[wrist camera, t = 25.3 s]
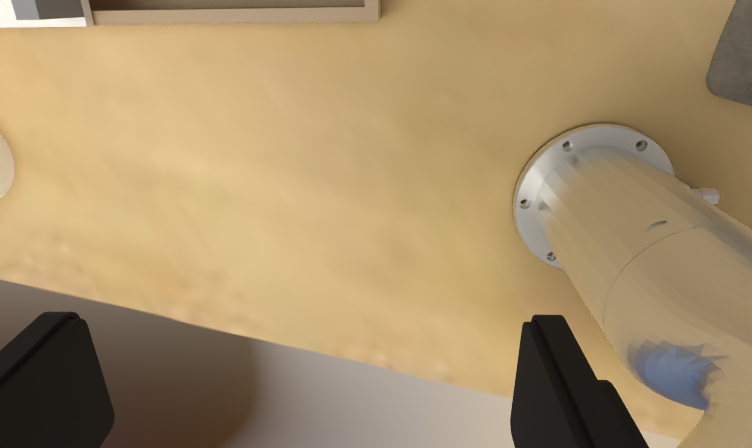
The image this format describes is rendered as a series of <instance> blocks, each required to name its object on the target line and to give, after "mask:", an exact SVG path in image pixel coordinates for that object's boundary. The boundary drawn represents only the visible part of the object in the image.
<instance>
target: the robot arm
mask: <svg viewBox="0 0 752 448" xmlns="http://www.w3.org/2000/svg"><path fill="white" fill-rule="evenodd" d="M566 141H568V144H567V145H566V146H563V144H564V143H565V142H566ZM638 142H639V144H638V145H636V144H637V143H638ZM719 197H720V195H719V191H718V190H717V189H716V188H696V189H690V187H689V186H688V185H686V184H685V183H683V182H681V181H680V180H678V179H677V178H675V173H674V170H673V167H672V164H671V162H670V159H669V158H668V156H667V155H666V153H665V152H664V150H663V149H662V148H661V147H660V146H659V145H658V144H657V143H656V142H655V141H654V140H652V139H651V138H650V137H648V136H646V135H645V134H643V133H641V132H639V131H637V130H634V129H632V128H629V127H627V126H622V125H617V124H592V125H586V126H581V127H578V128H575V129H573V130H570V131H567V132H565V133H563V134H561V135H559V136H558V137H556V138H554V139H552V140H551V141H549V142H548V143H547V144H546V145H545V146H543V147H542V148H541V149H540V150H538V151H537V153H536V154H535V155H534V156H533V157H532V158H531V159H530V161H529V162H528V163H527V165H526V166H525V168H524V170H523V171H522V173H521V175H520V177H519V179H518V182H517V185H516V187H515V191H514V197H513V203H512V204H513V218H514V222H515V225H516V229H517V231H518V233H519V235H520V237H521V239H522V240H523V242H524V243H525V245H526V246H527V248H528V249H529V250H530V251H531V252H532V253H533V254H534V255H535V256H536V257H537V258H539V259H540V260H542V261H543V262H545V263H547V264H549V265H551V266H554V267H557V268H559V269H563V270H564V271H565V273H566V274H567V276H568V278H569V279H570V281H571V282H572V284H573V286H574V287H575V289H576V290H577V292H578V294H579V295H580V297H581V298H582V300H583V302H584V303H585V305H586V306H587V308H588V309H589V311H590V313H591V314H592V316H593V317H594V319H595V321H596V322H597V324H598V325H599V327H600V329H601V330H602V332H603V333H604V335H605V337H606V338H607V340H608V341H609V343H610V344H611V346H612V348H613V349H614V351H615V352H616V354H617V355H618V357H619V358H620V360H621V361H622V363H623V364H624V365H625V367H626V368H627V369H628V370H629V371H630V373H631V374H632V375H633V376H634V377H635V378H636V379H637V380H639V381H640V382H641V383H642V384H643V385H645V386H646V387H648V388H649V389H651V390H652V391H654V392H655V393H657V394H659V395H661V396H663V397H665V398H667V399H669V400H672V401H675V402H677V403H680V404H683V405H685V406H688V407H692V408H696V409H700V410H704V411H705V413H704V414H703V416H702V418H701V420H700V421H699V422H698V424H697V425H696V426H695V427H694V428H693V430H692V431H691V432H690V433H689V434H688V435H687V436H686V437H685V438H684V439H683V441H682V442H681V443H680V444H679V445H678V446H677V448H752V230H751V229H750V228H748V227H747V226H745V225H744V224H742V223H740V222H739V221H737V220H736V219H734V218H733V217H731V216H730V215H728V214H726V213H725V212H723V211H722V210H720V209H719V208H717V207H716V206H715V205H717V203H718V202H719ZM523 199H526V200H525V201H524V202H521V201H522V200H523ZM550 252H551V253H550ZM548 253H549V254H548ZM113 423H114V410H113V407H112V404H111V400H110V397H109V394H108V391H107V387H106V384H105V381H104V377H103V374H102V371H101V367H100V364H99V361H98V358H97V354H96V351H95V348H94V345H93V341H92V338H91V335H90V332H89V328H88V325H87V323H86V321H85V320H84V319H80V317H79V315H78V314H77V313H74V312H45V313H43V314H41V315H40V316H38V317H37V318H36V319H35V320H34V321H33V322H32V323H31V324H30V325H28V326H27V327H26V328H25V329H24V330H23V331H22V332H21V333H20V334H18V335H17V336H16V337H15V338H14V339H13V340H12V341H11V342H9V343H8V344H7V345H6V346H5V347H4V348H3V349H2V350H1V351H0V448H99V447H100V446H101V444H102V443H103V441H104V440H105V438H106V437H107V435H108V434H109V432H110V431H111V429H112V426H113ZM510 423H511V424H510V425H511V434H512V438H513V441H514V445H515V448H649V447H648V445H647V443H646V441H645V440H644V438H643V436H642V434H641V433H640V431H639V429H638V427H637V426H636V424H635V422H634V420H633V419H632V417H631V415H630V413H629V412H628V410H627V408H626V406H625V405H624V403H623V401H622V399H621V398H620V396H619V394H618V392H617V391H616V389H615V387H614V386H613V385H612V383H611V382H609V381H607V380H597V378H596V376H595V374H594V372H593V370H592V368H591V367H590V365H589V363H588V361H587V359H586V357H585V355H584V354H583V352H582V350H581V348H580V346H579V344H578V342H577V341H576V339H575V337H574V335H573V333H572V331H571V329H570V327H569V326H568V324H567V322H566V320H565V318H564V317H563V316H562V315H534V316H533V317H532V320H531V322H524V323H523V326H522V333H521V341H520V348H519V356H518V364H517V372H516V379H515V387H514V395H513V402H512V410H511V419H510Z"/></svg>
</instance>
